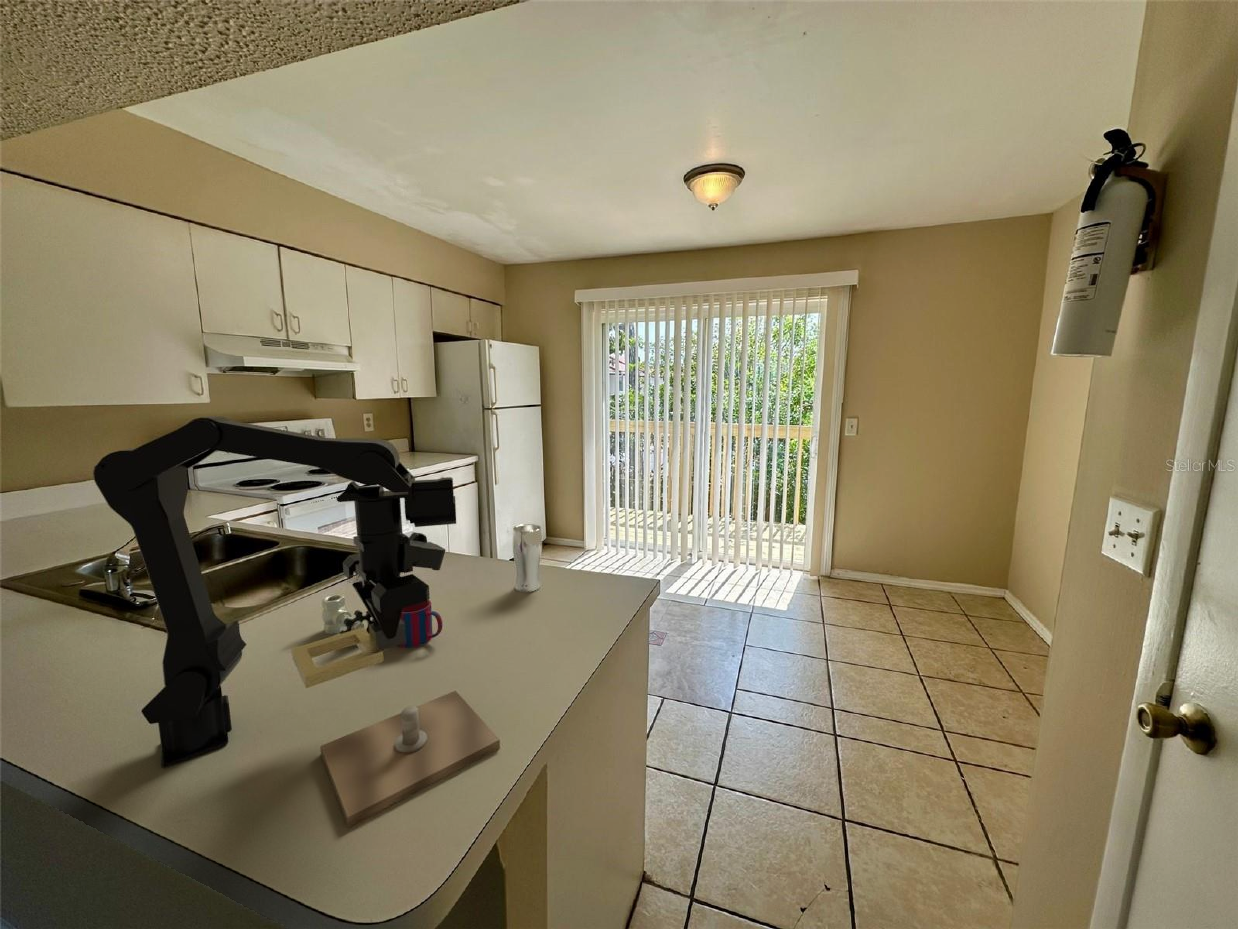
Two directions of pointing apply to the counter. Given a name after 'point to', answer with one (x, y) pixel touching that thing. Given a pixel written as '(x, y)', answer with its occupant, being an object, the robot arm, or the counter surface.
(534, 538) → the beer glass
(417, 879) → the counter surface
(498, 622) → the counter surface
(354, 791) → the plate
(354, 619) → the valve
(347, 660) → the brass link
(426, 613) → the mug
